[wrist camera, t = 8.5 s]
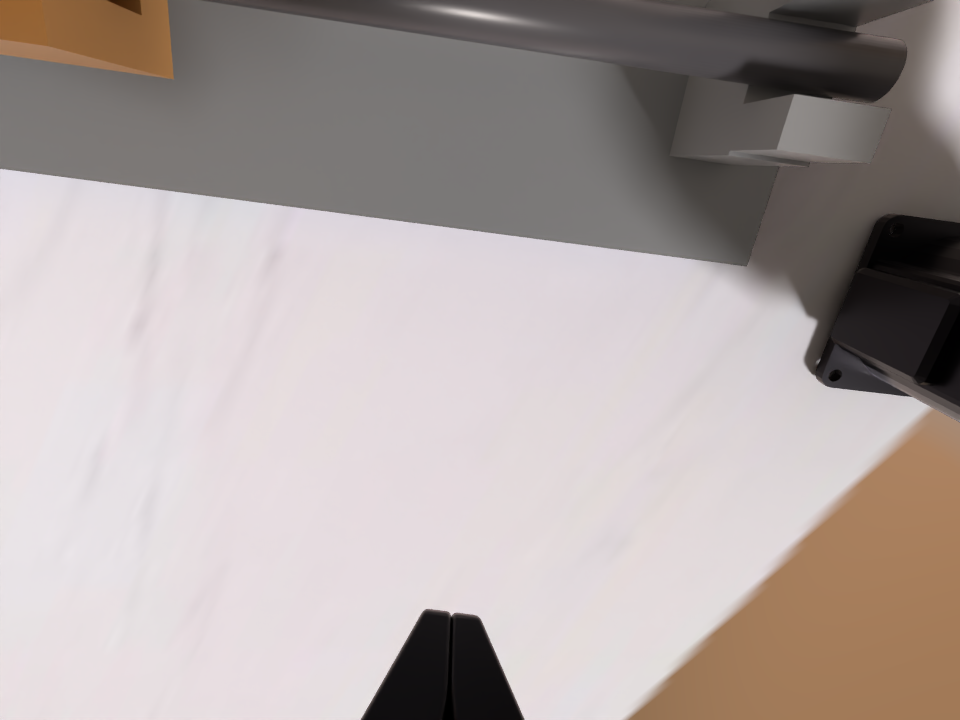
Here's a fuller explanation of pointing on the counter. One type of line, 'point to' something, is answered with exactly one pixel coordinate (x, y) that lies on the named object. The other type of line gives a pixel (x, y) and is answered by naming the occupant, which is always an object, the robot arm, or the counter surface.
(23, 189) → the counter surface
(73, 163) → the stand
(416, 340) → the counter surface
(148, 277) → the counter surface
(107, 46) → the orange slider block
